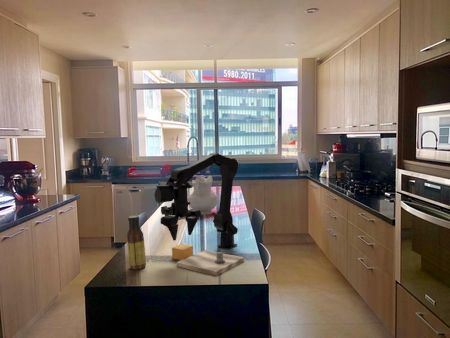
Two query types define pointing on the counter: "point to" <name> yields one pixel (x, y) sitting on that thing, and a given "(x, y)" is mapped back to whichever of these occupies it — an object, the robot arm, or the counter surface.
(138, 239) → the sauce bottle
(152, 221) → the counter surface
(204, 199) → the ceramic pitcher
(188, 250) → the amber foam cube
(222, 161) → the robot arm
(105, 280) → the counter surface
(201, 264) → the birch board
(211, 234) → the counter surface
